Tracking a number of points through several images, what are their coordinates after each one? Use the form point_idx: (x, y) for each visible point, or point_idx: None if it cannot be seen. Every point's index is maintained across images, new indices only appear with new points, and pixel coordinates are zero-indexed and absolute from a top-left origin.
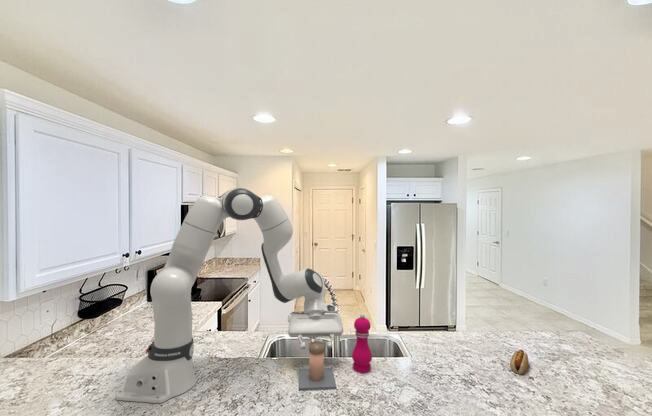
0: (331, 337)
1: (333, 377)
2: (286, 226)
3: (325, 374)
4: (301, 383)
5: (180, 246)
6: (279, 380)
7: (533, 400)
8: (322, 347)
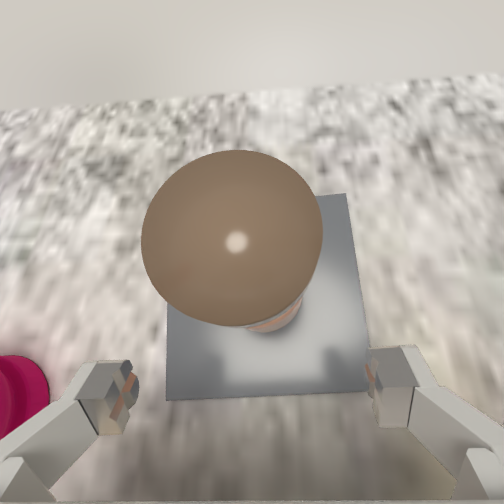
0: (23, 475)
1: None
2: None
3: None
4: (338, 231)
5: None
6: (469, 284)
7: None
8: (173, 177)
